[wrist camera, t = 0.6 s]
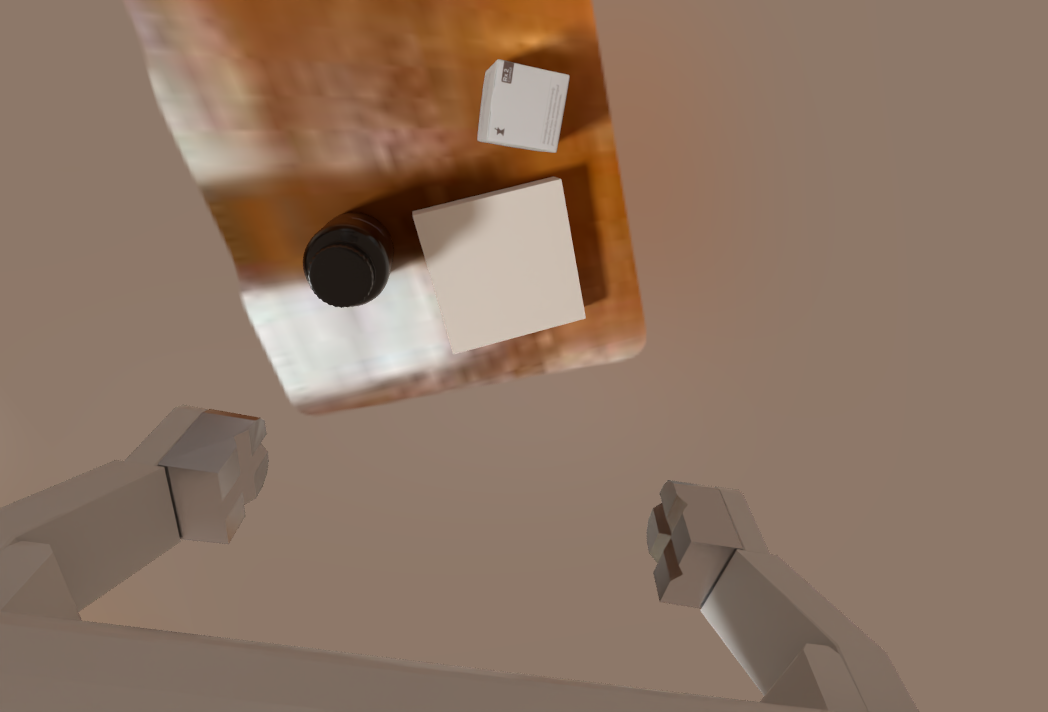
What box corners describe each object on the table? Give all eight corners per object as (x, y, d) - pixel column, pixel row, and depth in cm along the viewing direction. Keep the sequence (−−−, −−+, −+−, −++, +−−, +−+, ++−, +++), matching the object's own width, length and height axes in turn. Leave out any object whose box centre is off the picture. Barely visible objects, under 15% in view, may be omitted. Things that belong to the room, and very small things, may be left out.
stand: (412, 211, 51) (412, 215, 48) (553, 176, 52) (561, 178, 50) (451, 343, 57) (453, 354, 54) (577, 309, 58) (585, 318, 55)
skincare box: (539, 151, 51) (558, 154, 45) (475, 141, 50) (485, 142, 43) (550, 81, 49) (571, 73, 43) (484, 68, 48) (496, 57, 41)
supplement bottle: (388, 207, 51) (381, 228, 40) (399, 278, 53) (395, 316, 43) (311, 214, 50) (283, 237, 39) (327, 285, 52) (304, 326, 41)
